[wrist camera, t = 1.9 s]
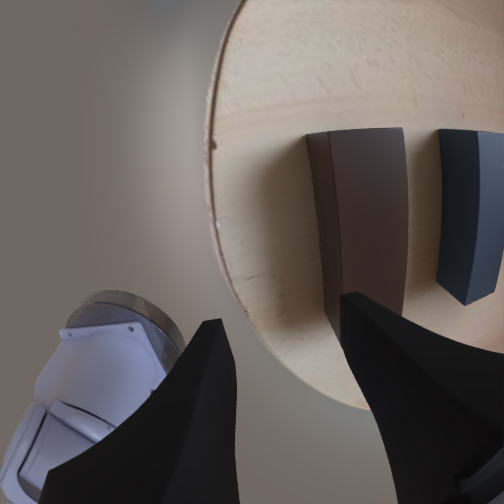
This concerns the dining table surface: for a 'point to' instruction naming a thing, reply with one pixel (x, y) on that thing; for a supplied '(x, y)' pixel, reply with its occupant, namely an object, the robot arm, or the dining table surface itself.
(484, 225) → the slate bar
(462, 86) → the dining table surface
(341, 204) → the walnut bar
